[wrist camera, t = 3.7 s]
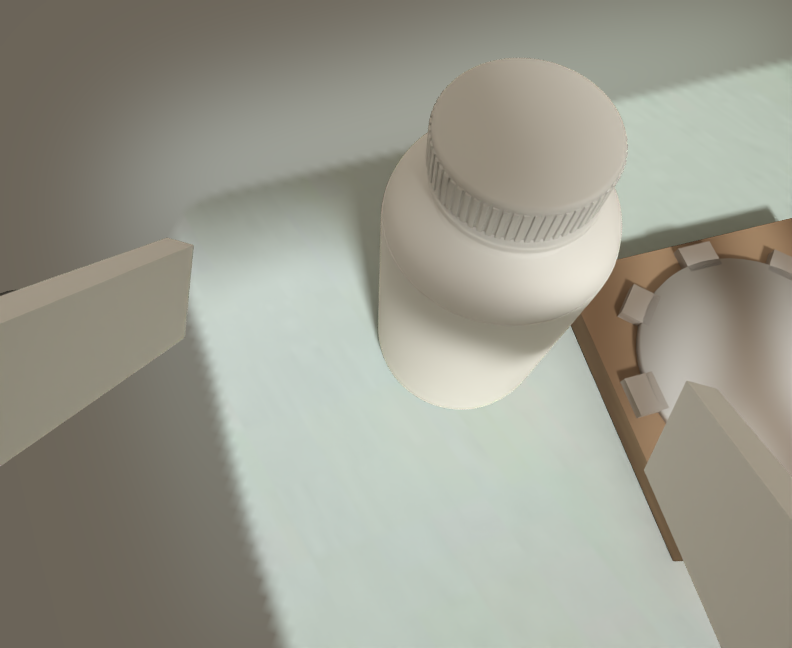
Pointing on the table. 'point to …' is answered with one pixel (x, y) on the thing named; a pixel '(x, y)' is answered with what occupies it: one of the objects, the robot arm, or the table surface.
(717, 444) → the robot arm
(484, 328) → the pill bottle
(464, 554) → the table surface
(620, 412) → the gear board
